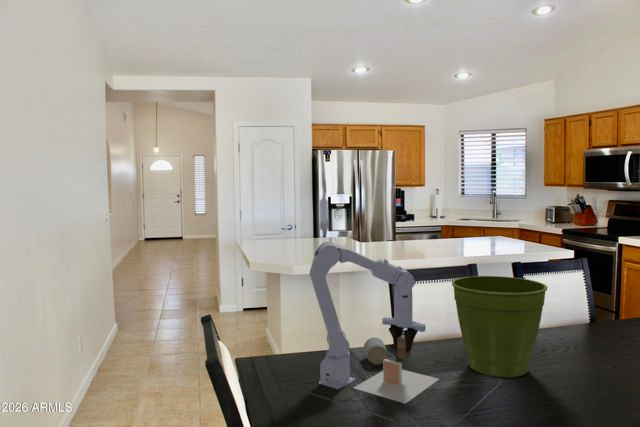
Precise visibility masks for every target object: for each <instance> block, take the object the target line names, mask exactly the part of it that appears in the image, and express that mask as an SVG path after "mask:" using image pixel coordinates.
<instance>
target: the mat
mask: <svg viewBox="0 0 640 427" xmlns="http://www.w3.org/2000/svg"><path fill="white" fill-rule="evenodd" d="M439 380H440V378H438V377H437V378H436V377H434V376H430V375H425V374H421V373H417V372H413V371H410V370H405V369H402V386H396V385H393V384H389V383H385V382H383V370H382V371H380V372H379V373H377V374H375V375H373V376H371V377H370V378H368V379H366V380H364V381H362V382H361V383H359V384H357V385H355V386H354V387H353V389H355V390H359V391H361V392H365V393H367V394H372V395H375V396H379V397H381V398H383V399H384V398H385V399H389V400H391V401H395V402H398V403H401V404H404V405H406V404H407V403H409V402H410V401H411V400H413V399H414V398H416V397H417V396H418V395H420V394H421V393H422V392H424V391H426V389H428V388H430V387H431V386H432V385H434V384H435V383H436V382H437V381H439Z"/></svg>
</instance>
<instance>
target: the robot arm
mask: <svg viewBox="0 0 640 427" xmlns="http://www.w3.org/2000/svg"><path fill="white" fill-rule="evenodd" d="M311 262H312V263H311V266H310V269H309V276H310V280H311V284H312V287H313V289H314V293H315V296H316V300H317V302H318V305H319V309H320V312H321V315H322V319H323V322H324V326H325V328H326V332H327V335H326V342H327V344H328V349H327V351H326V356H325V358H324V359H323V360H321V362H320V366H319V369H320V370H319V372H320V376H319V377H320V378H319V379H320V380H319V381H318V384H320V385H323V386H326V387H328V388H332V389H336V390H340V389H341V388H343V387H345V386H347V385H349V384H351V383H353V382H354V381H356V378H355V377H351V367H350V365H351V364H350V362H351V361H350V360H351V359H350V358H351V357H350V355H351V353H350V348H351V346H350V342H349V341H348V338H347V335H346V333H345V331H343V330H342V328H341V327H342V326H341V324H340V321H339V317H338V314H337V311H336V308H335V305H334V304H335V303H334V301H333V298H332V294H331V291H330V288H329V284H328V281H327V277H326V276H327V274H328V273H329V271H330V269H332V268H333V267H334V266H336V265H337V264H338V262H339V263H340V264H342V263H348V262H349V263H352V264H355V265H357V266H359V267H362V268H364V269H367V270H369V271H371V275H372V276H373V277H375V278H377V279H379V280H382V281H383V282H386V283H387V284H391V285H394V295H393V302H394V303H393V306H394V307H393V308H394V309H393V310H394V312H393V313H394V316H393V317H387V316H386V317H383V318H382V319H381V320H382V322H381V324H382V325H385V326H387V325H388V326H390V327H388V331H389V332H390V335H391V337H392V340H393V342H394V345H395V350H397V337H398V336H401V335H405V342H406V352H409V351H410V352H411V350H412V347H413V343H414V340H415V337H416V335H417V333H418V332H420V333H423V332H425V331H426V324H425V323H424V324H423V323H420V322H418V321H415V320H413V288H414V285H415V283H416V281H415V278H414V276H413V274H412V273H410V272H409V271H408V270H405V268H402V266H399V265H397V266H396V265H394V264H393V263H390V262H389V260H387V259H385V258H383V259H381V258H380V259H378V260H372V259H370V257H367V256H365V255H363V254H361V253H359V252H357V251H355V250H353V249H351V248H348V247H345V246H342V245H339V244H334V243H333V242H329V241H326V242H322V243H321V244H320V245H319V246H318V247H317V249H316V251H314V256H313V259H312V261H311ZM404 329H405V330H404Z"/></svg>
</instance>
